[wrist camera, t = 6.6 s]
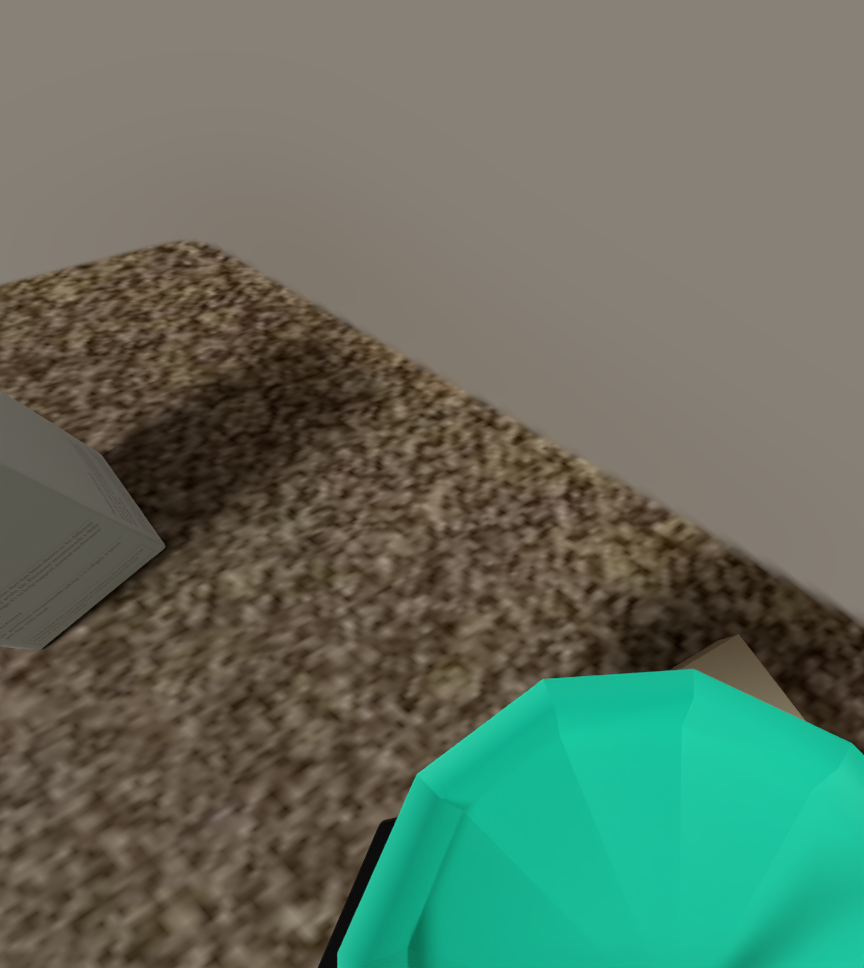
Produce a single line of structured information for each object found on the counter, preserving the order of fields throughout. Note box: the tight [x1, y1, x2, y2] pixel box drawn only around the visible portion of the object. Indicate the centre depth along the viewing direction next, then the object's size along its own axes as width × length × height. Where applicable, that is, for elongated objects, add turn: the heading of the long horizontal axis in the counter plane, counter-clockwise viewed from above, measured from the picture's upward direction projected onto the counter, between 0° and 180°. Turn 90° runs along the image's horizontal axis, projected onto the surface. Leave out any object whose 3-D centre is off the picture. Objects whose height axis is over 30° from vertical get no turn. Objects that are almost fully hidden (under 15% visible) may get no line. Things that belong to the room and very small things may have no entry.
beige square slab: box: [668, 634, 805, 721], centre depth 17 cm, size 12×11×2 cm
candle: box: [337, 669, 864, 968], centre depth 8 cm, size 6×6×12 cm
